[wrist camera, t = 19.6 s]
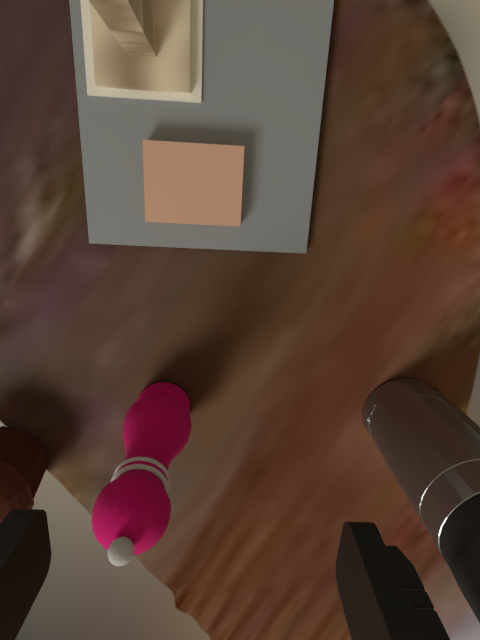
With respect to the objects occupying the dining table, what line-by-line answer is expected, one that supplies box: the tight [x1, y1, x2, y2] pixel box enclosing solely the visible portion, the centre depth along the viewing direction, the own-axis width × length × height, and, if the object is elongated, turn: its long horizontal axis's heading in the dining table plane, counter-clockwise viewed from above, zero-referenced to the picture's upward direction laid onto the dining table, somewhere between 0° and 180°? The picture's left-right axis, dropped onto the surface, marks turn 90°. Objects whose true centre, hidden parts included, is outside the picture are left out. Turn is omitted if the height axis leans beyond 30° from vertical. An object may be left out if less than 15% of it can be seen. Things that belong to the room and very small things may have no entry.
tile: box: [143, 140, 244, 227], centre depth 34 cm, size 2×7×9 cm
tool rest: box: [80, 0, 203, 103], centre depth 31 cm, size 10×10×1 cm
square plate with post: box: [89, 0, 192, 94], centre depth 26 cm, size 8×7×11 cm
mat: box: [69, 0, 334, 253], centre depth 34 cm, size 22×24×1 cm
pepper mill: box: [92, 382, 191, 566], centre depth 34 cm, size 7×7×20 cm
